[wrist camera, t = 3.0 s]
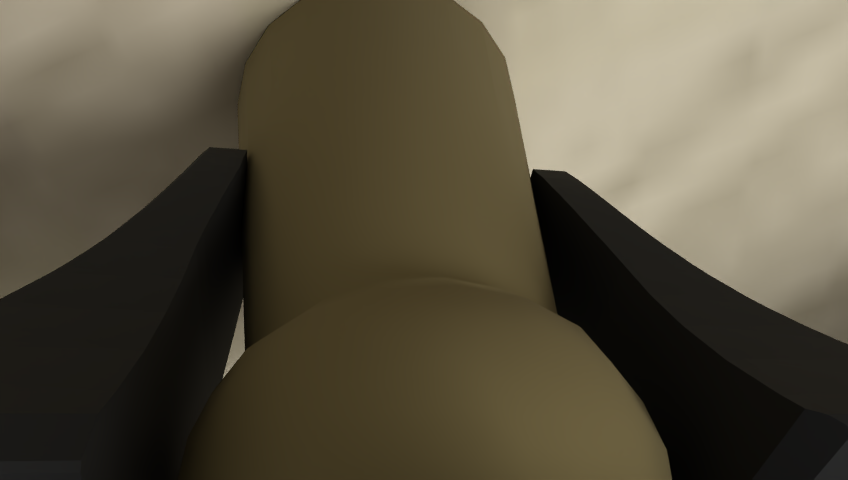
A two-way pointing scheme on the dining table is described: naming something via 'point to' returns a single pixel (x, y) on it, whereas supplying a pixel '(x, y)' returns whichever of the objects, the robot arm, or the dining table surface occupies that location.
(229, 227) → the robot arm
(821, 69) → the dining table surface
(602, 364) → the cork
